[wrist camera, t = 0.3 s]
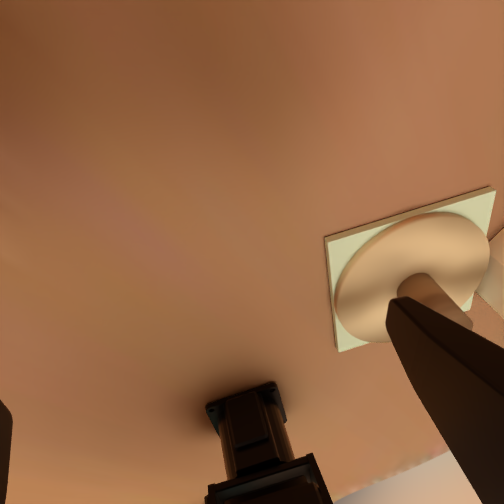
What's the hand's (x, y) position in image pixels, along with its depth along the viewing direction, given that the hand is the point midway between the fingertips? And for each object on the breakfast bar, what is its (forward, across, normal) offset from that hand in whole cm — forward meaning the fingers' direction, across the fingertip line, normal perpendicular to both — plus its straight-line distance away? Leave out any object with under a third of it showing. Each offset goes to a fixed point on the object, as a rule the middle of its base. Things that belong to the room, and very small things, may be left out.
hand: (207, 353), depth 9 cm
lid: (+14, -15, +13) cm, 25 cm away
